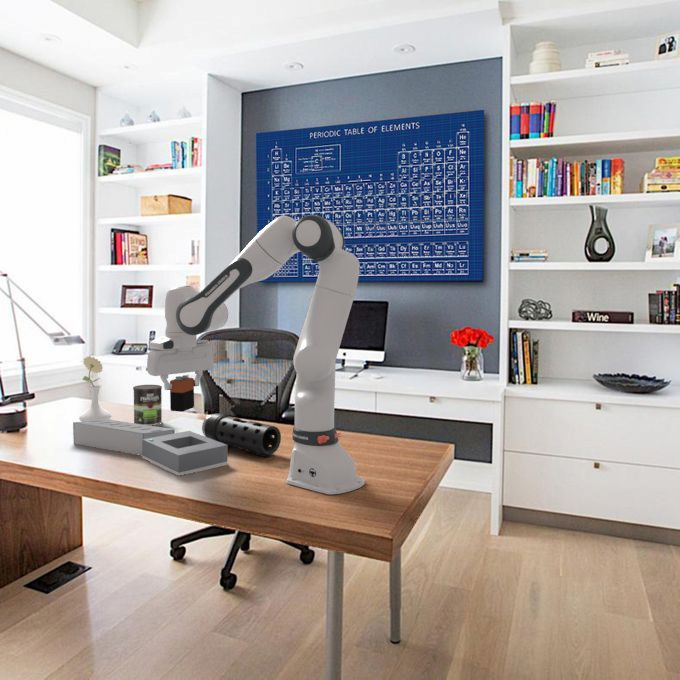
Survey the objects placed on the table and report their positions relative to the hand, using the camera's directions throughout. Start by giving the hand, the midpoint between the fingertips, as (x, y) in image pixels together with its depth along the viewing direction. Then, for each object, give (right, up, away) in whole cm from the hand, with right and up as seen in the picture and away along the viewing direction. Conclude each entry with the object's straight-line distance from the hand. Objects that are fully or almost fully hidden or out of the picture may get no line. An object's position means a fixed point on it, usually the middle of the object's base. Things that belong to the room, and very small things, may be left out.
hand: (182, 387), depth 174 cm
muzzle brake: (+14, -22, +17) cm, 31 cm away
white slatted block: (-25, -21, +21) cm, 38 cm away
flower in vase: (-48, -17, +51) cm, 72 cm away
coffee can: (-26, -18, +50) cm, 59 cm away
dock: (0, -23, +3) cm, 23 cm away
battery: (0, -7, +1) cm, 7 cm away
